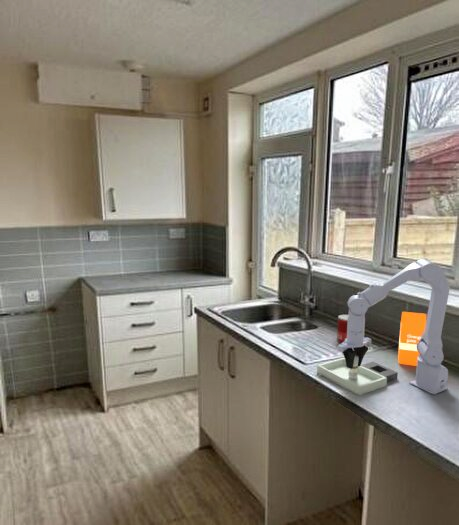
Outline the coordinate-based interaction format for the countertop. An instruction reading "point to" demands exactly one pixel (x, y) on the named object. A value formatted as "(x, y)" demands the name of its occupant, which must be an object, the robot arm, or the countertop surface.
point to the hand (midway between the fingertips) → (353, 366)
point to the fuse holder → (382, 371)
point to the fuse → (354, 369)
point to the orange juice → (410, 337)
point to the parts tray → (359, 386)
